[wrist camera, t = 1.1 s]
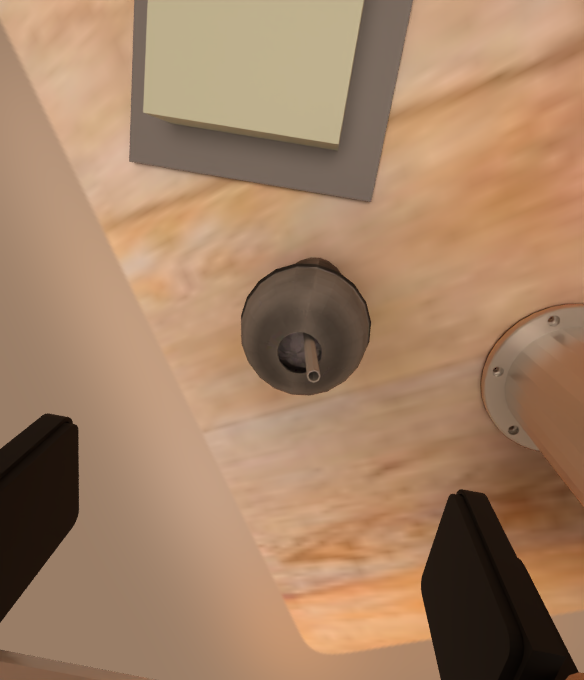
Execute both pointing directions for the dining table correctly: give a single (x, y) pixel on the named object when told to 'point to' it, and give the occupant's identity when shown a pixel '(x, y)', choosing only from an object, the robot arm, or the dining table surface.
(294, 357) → the beverage cup
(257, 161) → the plinth
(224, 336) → the dining table surface
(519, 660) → the robot arm
